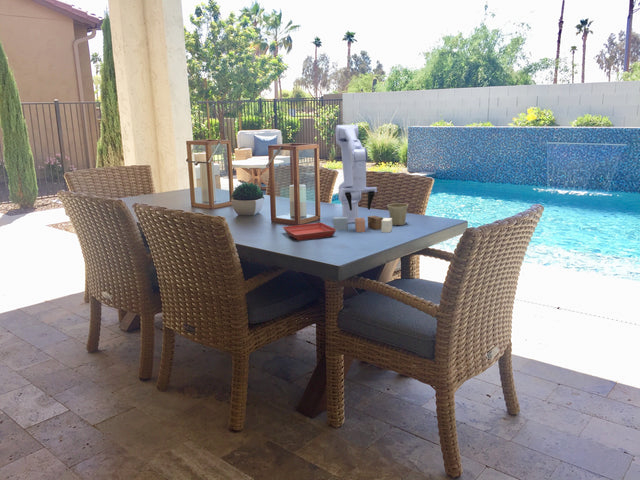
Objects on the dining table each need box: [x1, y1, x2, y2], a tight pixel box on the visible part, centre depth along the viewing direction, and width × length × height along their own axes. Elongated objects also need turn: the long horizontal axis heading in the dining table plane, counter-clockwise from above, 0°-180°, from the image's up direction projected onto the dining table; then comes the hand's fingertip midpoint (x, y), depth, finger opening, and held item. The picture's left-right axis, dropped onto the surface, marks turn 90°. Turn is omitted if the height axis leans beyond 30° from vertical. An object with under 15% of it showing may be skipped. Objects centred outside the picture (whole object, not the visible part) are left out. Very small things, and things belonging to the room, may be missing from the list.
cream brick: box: [381, 217, 393, 233], centre depth 223 cm, size 6×4×5 cm, turn 163°
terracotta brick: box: [354, 217, 366, 233], centre depth 225 cm, size 6×4×5 cm, turn 3°
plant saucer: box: [282, 222, 337, 241], centre depth 220 cm, size 18×18×3 cm
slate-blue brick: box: [332, 216, 349, 231], centre depth 229 cm, size 6×4×5 cm, turn 83°
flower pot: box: [386, 202, 409, 226], centre depth 234 cm, size 9×9×9 cm
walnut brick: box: [367, 215, 384, 231], centre depth 228 cm, size 6×4×5 cm, turn 33°
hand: (359, 209), depth 223 cm, fingers open, 7 cm apart
